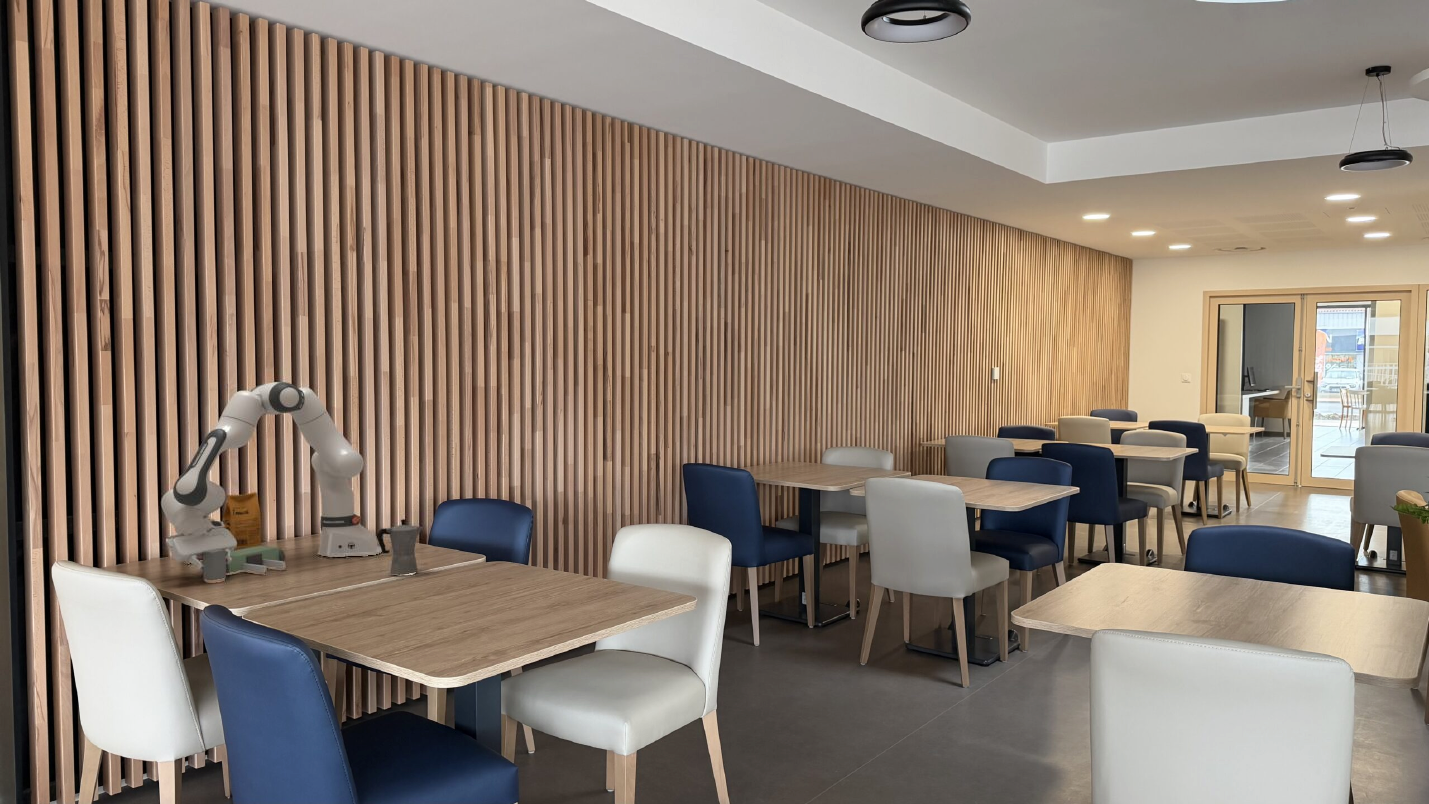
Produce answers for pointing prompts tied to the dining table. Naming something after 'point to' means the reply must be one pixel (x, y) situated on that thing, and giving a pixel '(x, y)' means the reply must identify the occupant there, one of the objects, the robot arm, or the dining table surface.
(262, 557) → the mower deck
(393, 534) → the coffeepot
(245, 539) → the coffee package
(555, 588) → the dining table surface
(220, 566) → the grey upright pillar
